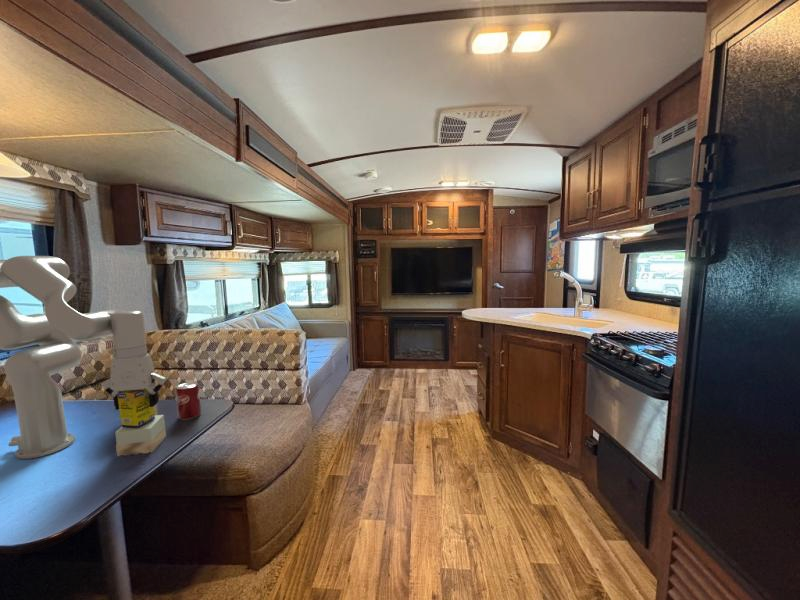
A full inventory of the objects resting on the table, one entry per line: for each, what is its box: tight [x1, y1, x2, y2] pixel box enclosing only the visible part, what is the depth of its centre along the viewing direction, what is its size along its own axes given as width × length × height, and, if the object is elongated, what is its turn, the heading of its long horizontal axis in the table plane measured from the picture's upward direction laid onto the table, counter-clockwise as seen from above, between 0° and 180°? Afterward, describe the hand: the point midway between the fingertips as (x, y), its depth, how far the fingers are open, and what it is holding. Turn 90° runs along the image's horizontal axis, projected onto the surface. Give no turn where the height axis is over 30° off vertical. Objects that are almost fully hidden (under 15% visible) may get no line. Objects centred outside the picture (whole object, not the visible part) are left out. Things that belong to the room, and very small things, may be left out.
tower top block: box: [114, 414, 166, 445], centre depth 102 cm, size 9×9×4 cm
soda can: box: [174, 381, 202, 421], centre depth 121 cm, size 7×7×12 cm
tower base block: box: [115, 426, 167, 457], centre depth 102 cm, size 9×9×4 cm
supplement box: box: [117, 389, 155, 428], centre depth 101 cm, size 6×6×11 cm
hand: (137, 406), depth 101 cm, fingers open, 8 cm apart
